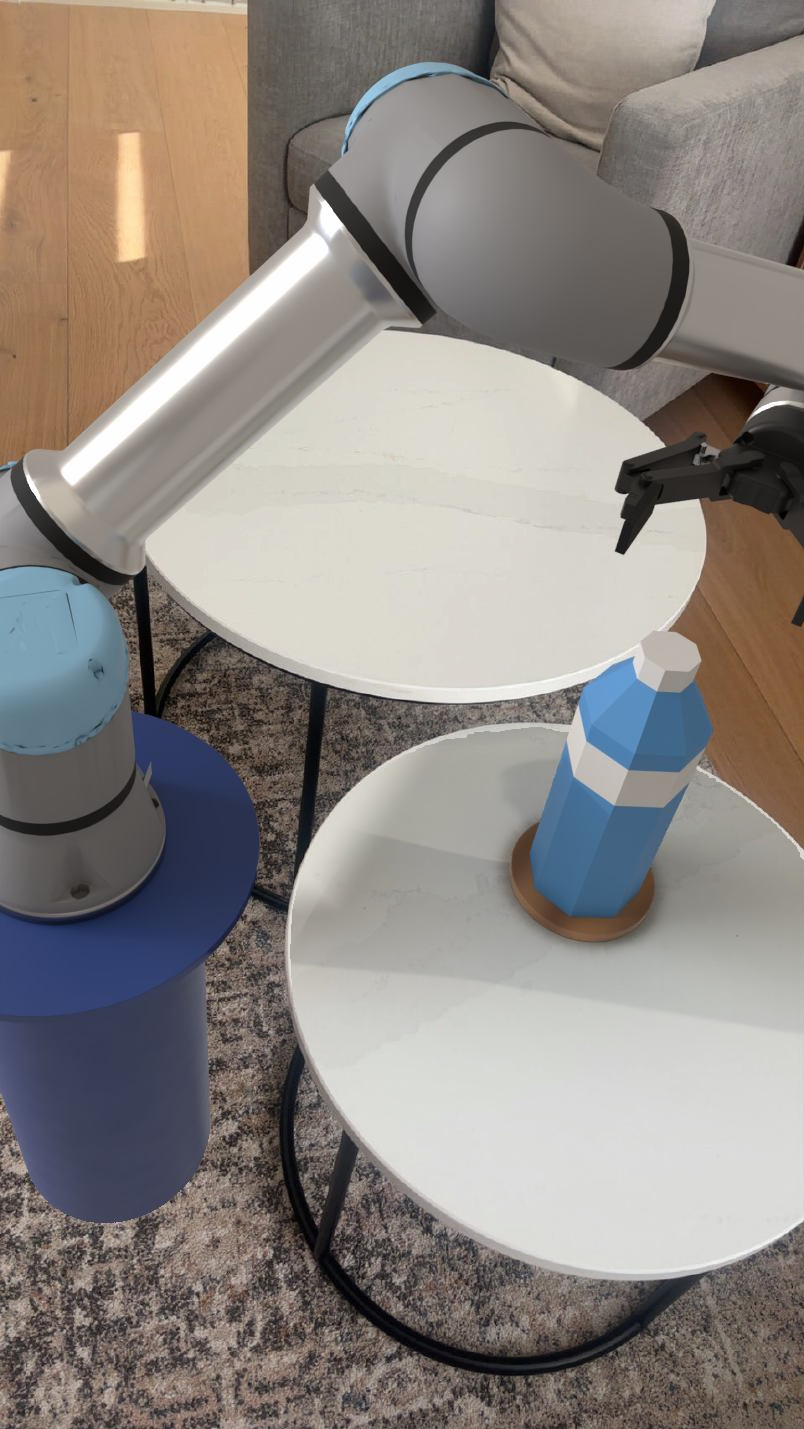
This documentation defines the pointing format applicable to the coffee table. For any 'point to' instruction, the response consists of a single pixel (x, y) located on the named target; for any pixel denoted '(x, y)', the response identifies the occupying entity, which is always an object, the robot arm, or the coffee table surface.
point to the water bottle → (621, 778)
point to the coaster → (559, 920)
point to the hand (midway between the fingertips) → (711, 574)
